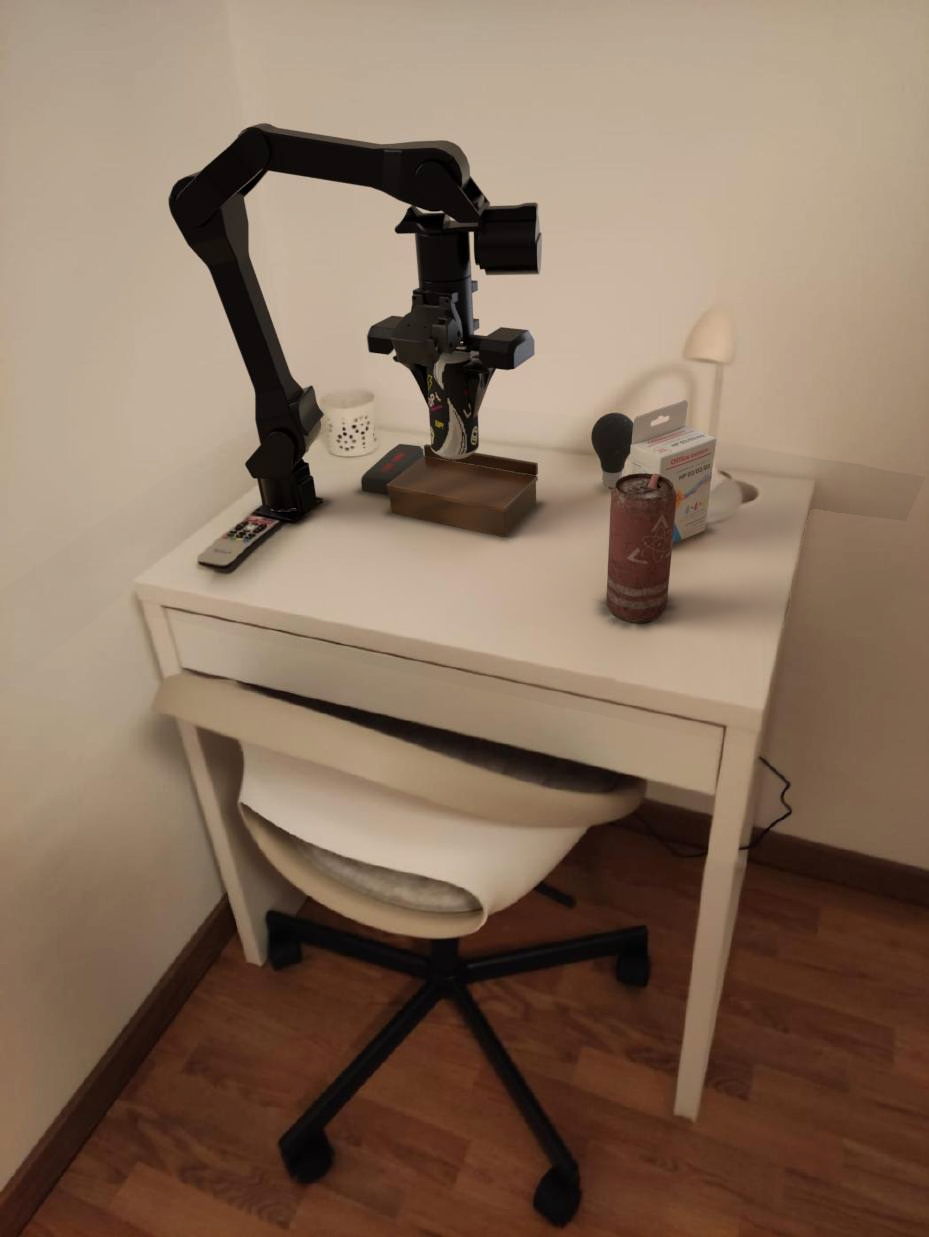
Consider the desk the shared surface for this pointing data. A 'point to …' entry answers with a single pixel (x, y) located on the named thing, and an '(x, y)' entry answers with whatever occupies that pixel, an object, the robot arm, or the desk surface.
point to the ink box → (676, 463)
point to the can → (640, 546)
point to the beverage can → (451, 407)
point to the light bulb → (612, 445)
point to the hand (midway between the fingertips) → (453, 415)
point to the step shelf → (466, 491)
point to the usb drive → (391, 467)
